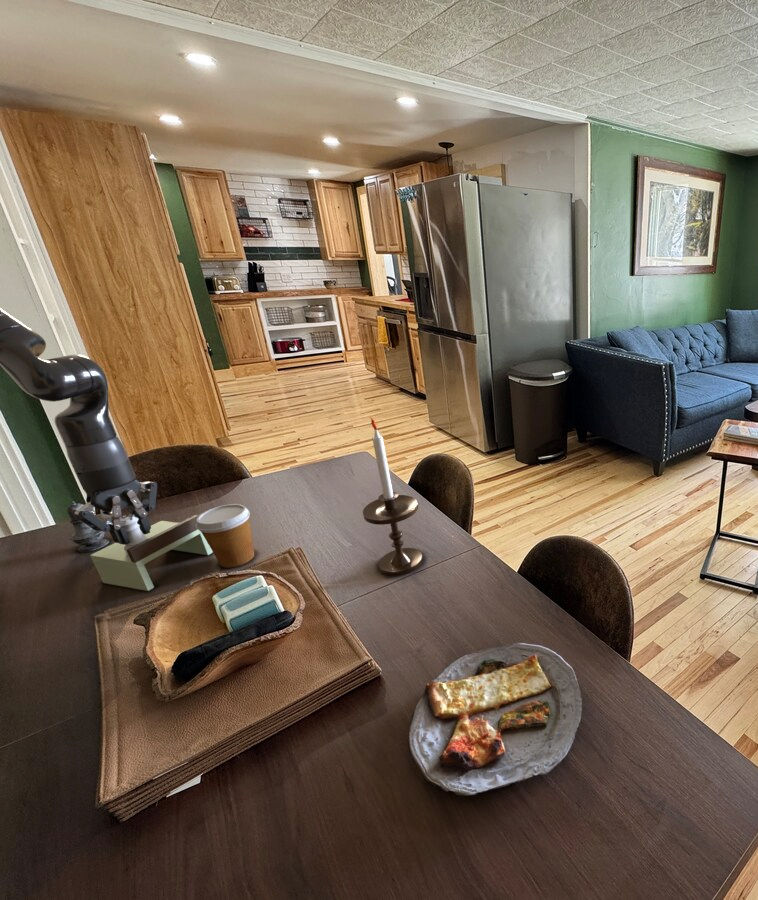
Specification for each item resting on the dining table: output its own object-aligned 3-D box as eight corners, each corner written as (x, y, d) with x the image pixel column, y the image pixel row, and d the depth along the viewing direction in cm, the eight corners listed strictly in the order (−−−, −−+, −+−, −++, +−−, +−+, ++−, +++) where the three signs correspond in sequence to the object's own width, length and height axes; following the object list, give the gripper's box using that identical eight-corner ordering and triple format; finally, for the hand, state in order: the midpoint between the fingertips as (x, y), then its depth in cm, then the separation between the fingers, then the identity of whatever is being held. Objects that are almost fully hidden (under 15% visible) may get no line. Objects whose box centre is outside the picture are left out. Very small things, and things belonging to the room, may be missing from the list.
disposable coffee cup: (271, 553, 109) (257, 508, 105) (227, 577, 101) (210, 529, 97) (246, 543, 113) (231, 499, 108) (201, 565, 105) (183, 518, 100)
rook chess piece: (125, 550, 98) (110, 517, 95) (153, 542, 101) (140, 509, 98) (126, 559, 95) (110, 525, 92) (155, 550, 98) (141, 517, 95)
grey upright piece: (69, 550, 110) (46, 505, 105) (99, 537, 115) (78, 493, 111) (87, 554, 109) (65, 509, 104) (117, 540, 114) (97, 496, 109)
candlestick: (404, 582, 100) (374, 427, 86) (363, 572, 103) (329, 421, 90) (436, 554, 110) (414, 410, 96) (398, 545, 113) (371, 405, 99)
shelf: (103, 583, 99) (83, 542, 96) (171, 545, 112) (156, 509, 108) (148, 591, 97) (129, 550, 93) (212, 552, 110) (199, 515, 106)
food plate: (403, 825, 58) (399, 807, 56) (416, 674, 78) (412, 658, 77) (599, 768, 64) (599, 750, 63) (563, 642, 85) (562, 627, 83)
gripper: (126, 446, 97) (156, 518, 104) (39, 475, 85) (79, 555, 91) (155, 449, 96) (184, 522, 103) (71, 479, 83) (109, 560, 90)
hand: (134, 537), depth 97 cm, fingers closed on rook chess piece, 3 cm apart
